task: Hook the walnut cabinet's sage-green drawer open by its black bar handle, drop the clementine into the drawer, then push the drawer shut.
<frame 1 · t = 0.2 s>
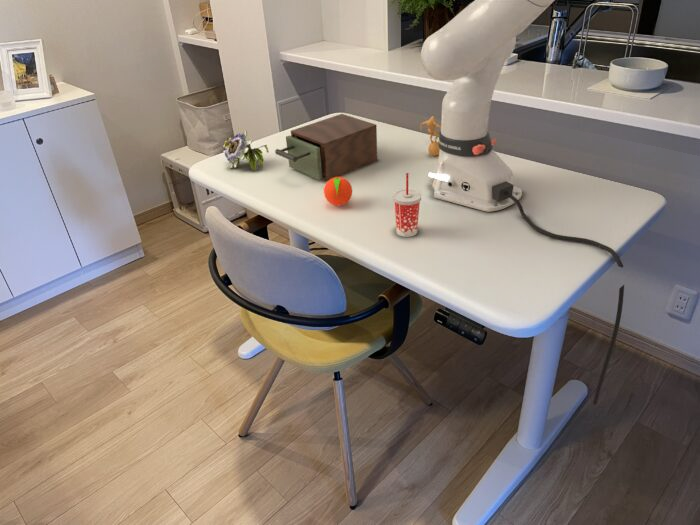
clementine: (339, 205, 134), on the table
drawer: (319, 151, 150), point 5 cm above the table, slide at 1.0 cm
passion flower: (246, 165, 158), on the table
beverage cup: (406, 232, 122), on the table
figurine: (433, 157, 156), on the table
cabinet: (336, 163, 156), on the table
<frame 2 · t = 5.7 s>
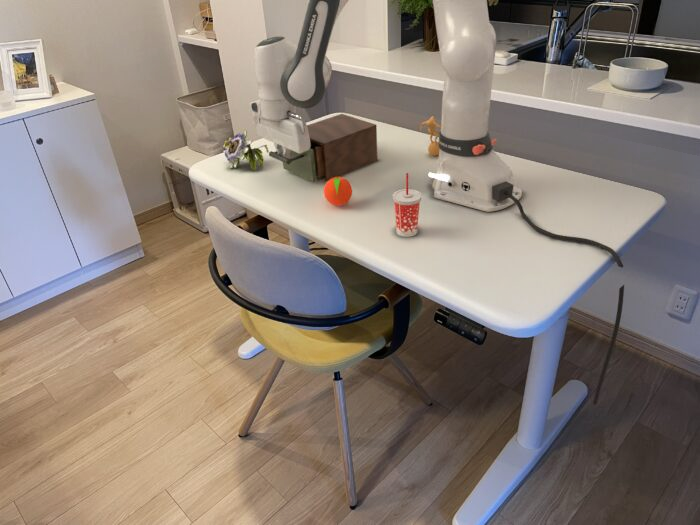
hand: (284, 159, 143), 7 cm above the table, tool pointing down, fingers closed, pressing on drawer
drawer: (313, 154, 149), point 5 cm above the table, slide at 3.0 cm, touching gripper
everything else where it was.
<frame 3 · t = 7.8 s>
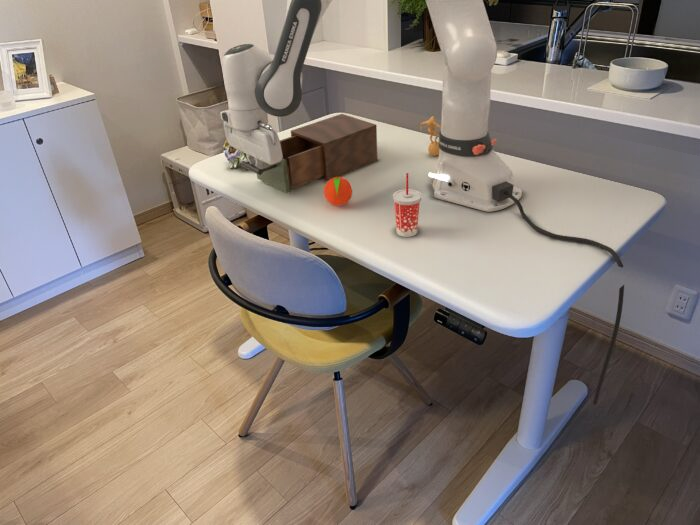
hand: (257, 170, 139), 6 cm above the table, tool pointing down, fingers closed, pressing on drawer
drawer: (287, 163, 144), point 5 cm above the table, slide at 11.7 cm, touching gripper
everything else where it was.
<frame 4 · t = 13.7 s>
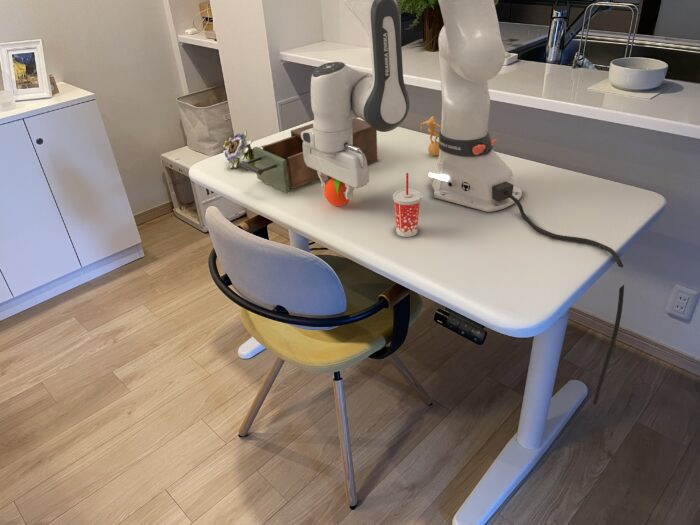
hand: (337, 192, 132), 3 cm above the table, tool pointing down, fingers closed on clementine, 7 cm apart
clementine: (339, 206, 134), on the table, touching gripper
drawer: (287, 163, 144), point 5 cm above the table, slide at 11.7 cm
everything else where it was.
when the fingers open (11 cm above the table, at t = 21.1 s): clementine drops 5 cm, resting on drawer.
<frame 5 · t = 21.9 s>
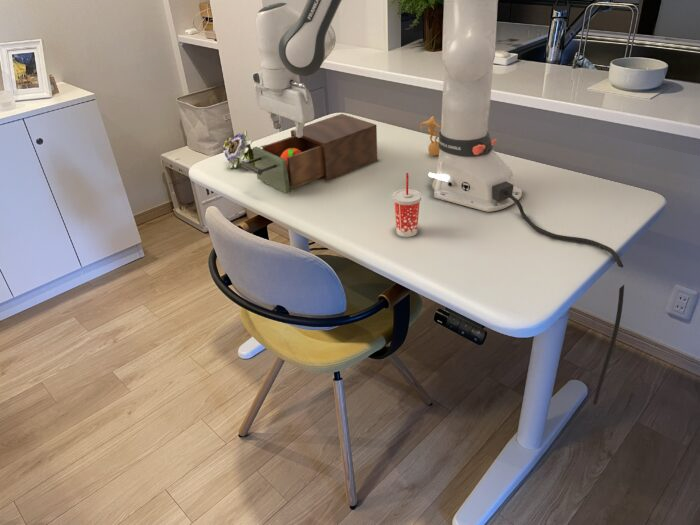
hand: (287, 132, 140), 14 cm above the table, tool pointing down, fingers open, 8 cm apart
clementine: (294, 175, 146), point 2 cm above the table, touching drawer
drawer: (287, 163, 144), point 5 cm above the table, slide at 11.7 cm, touching clementine
everything else where it was.
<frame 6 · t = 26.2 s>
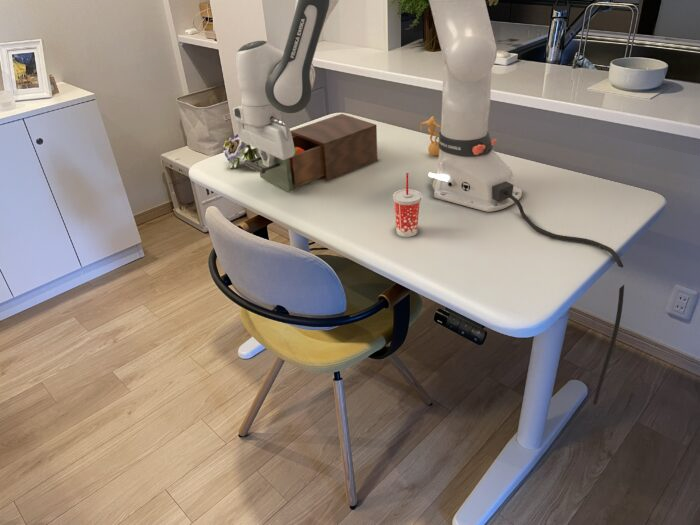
hand: (269, 166, 140), 6 cm above the table, tool pointing down, fingers closed, pressing on drawer
drawer: (290, 162, 145), point 5 cm above the table, slide at 10.7 cm, touching clementine, gripper
everything else where it was.
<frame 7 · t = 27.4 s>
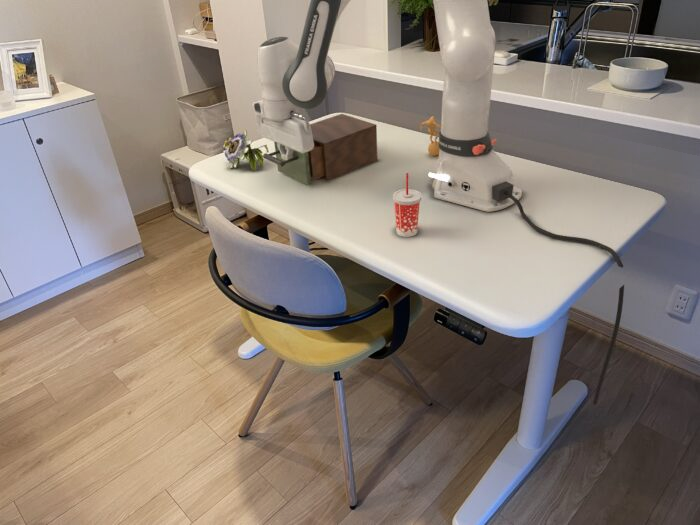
hand: (287, 159, 143), 6 cm above the table, tool pointing down, fingers closed, pressing on drawer
clementine: (314, 167, 150), point 2 cm above the table, touching drawer
drawer: (308, 155, 148), point 5 cm above the table, slide at 4.9 cm, touching clementine, gripper
everything else where it was.
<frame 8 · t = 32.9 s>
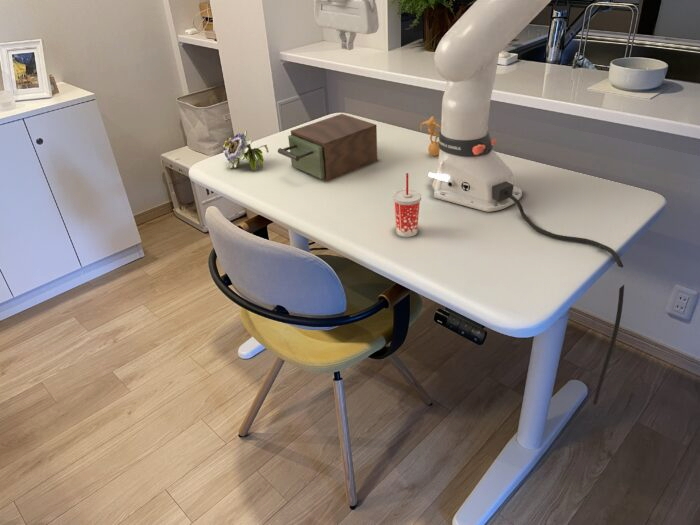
hand: (347, 49, 138), 31 cm above the table, tool pointing down, fingers closed
clementine: (327, 162, 152), point 2 cm above the table, touching drawer
drawer: (321, 151, 150), point 5 cm above the table, slide at 0.2 cm, touching clementine
everything else where it was.
at the end: drawer pulled out 11.7 cm at the most during the clip, back to 0.2 cm at the end; clementine inside the target area in the cabinet (3.6 cm from its centre), point 1.8 cm above the cabinet's base; drawer slide at 0.2 cm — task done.
